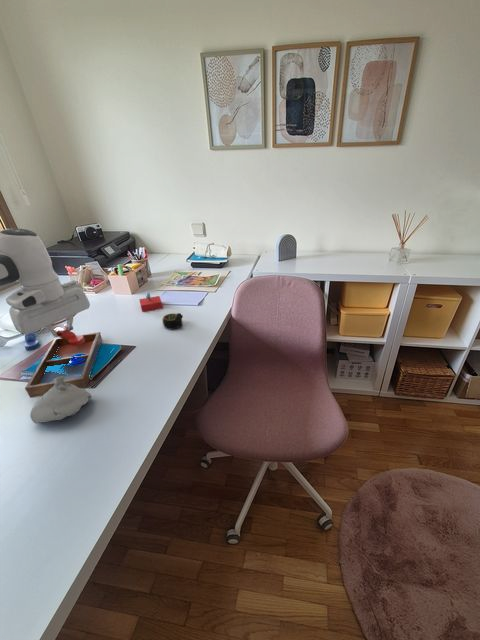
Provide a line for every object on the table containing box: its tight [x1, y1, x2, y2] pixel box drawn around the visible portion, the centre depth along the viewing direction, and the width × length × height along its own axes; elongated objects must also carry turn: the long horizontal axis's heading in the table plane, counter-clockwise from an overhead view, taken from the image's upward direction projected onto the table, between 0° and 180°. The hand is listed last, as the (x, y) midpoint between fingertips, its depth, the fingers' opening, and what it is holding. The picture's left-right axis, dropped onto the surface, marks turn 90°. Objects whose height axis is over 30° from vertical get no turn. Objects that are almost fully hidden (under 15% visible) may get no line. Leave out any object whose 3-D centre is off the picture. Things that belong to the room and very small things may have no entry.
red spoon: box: [55, 326, 85, 346], centre depth 91 cm, size 12×4×3 cm, turn 60°
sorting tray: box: [24, 332, 103, 398], centre depth 89 cm, size 14×26×3 cm, turn 15°
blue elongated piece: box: [23, 331, 41, 351], centre depth 101 cm, size 12×4×3 cm, turn 35°
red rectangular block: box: [139, 291, 164, 313], centre depth 121 cm, size 8×7×6 cm
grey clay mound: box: [29, 376, 93, 424], centre depth 71 cm, size 12×12×11 cm
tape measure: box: [161, 312, 184, 330], centre depth 108 cm, size 7×7×4 cm
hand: (63, 332), depth 92 cm, fingers closed on red spoon, 3 cm apart
